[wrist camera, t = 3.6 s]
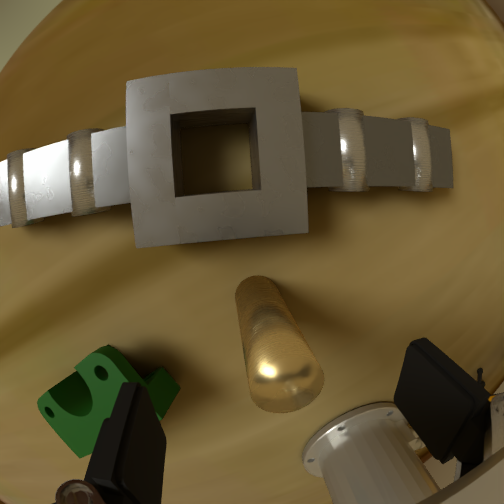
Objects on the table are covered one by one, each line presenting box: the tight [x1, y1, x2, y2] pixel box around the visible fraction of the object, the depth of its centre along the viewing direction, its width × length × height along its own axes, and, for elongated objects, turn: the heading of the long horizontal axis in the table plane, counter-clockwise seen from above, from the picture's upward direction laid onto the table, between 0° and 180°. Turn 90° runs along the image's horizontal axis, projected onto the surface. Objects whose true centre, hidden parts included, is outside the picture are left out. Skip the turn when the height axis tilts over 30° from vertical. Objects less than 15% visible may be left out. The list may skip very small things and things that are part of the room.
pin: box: [235, 276, 324, 413], centre depth 15 cm, size 3×3×10 cm
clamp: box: [37, 344, 180, 458], centre depth 18 cm, size 12×6×9 cm, turn 122°
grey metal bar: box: [0, 67, 453, 248], centre depth 16 cm, size 33×9×4 cm, turn 94°
